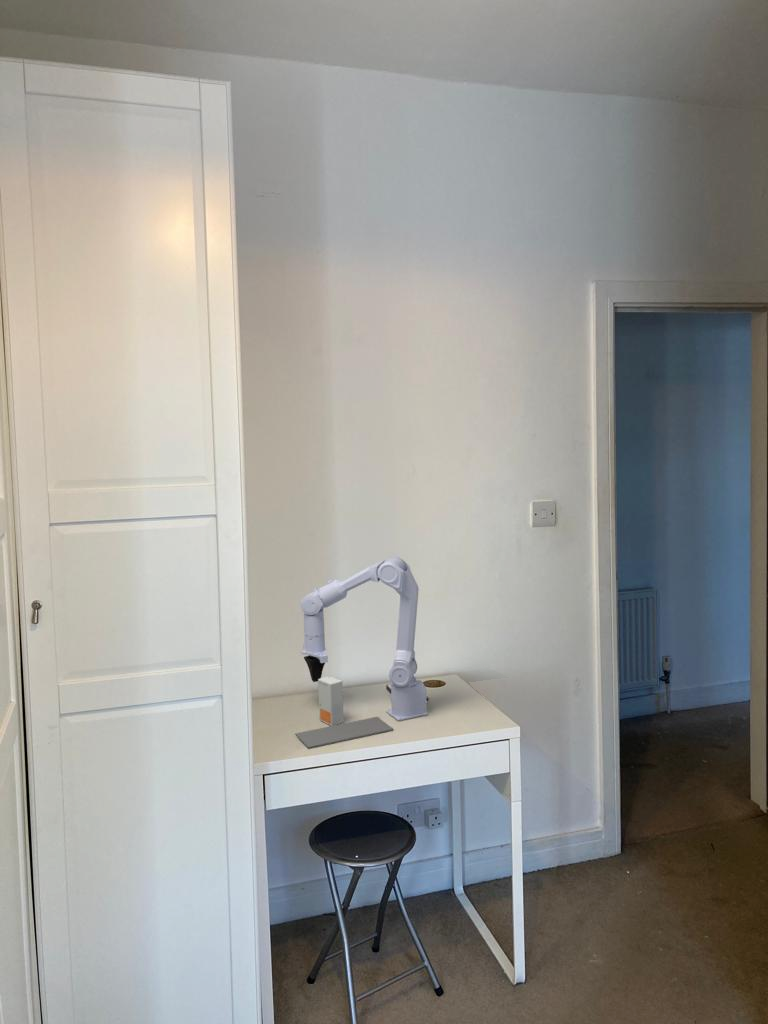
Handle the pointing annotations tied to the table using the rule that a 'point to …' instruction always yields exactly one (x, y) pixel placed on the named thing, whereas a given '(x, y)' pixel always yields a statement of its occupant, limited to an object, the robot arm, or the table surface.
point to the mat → (343, 732)
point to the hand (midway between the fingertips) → (316, 680)
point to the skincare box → (330, 700)
